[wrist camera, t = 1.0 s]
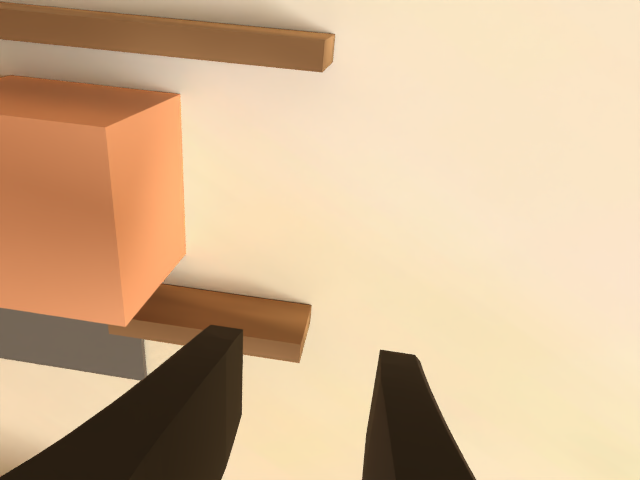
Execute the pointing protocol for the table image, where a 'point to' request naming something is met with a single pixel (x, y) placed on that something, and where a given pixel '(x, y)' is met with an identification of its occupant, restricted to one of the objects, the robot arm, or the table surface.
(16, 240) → the block
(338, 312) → the table surface
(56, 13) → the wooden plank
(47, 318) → the mats
